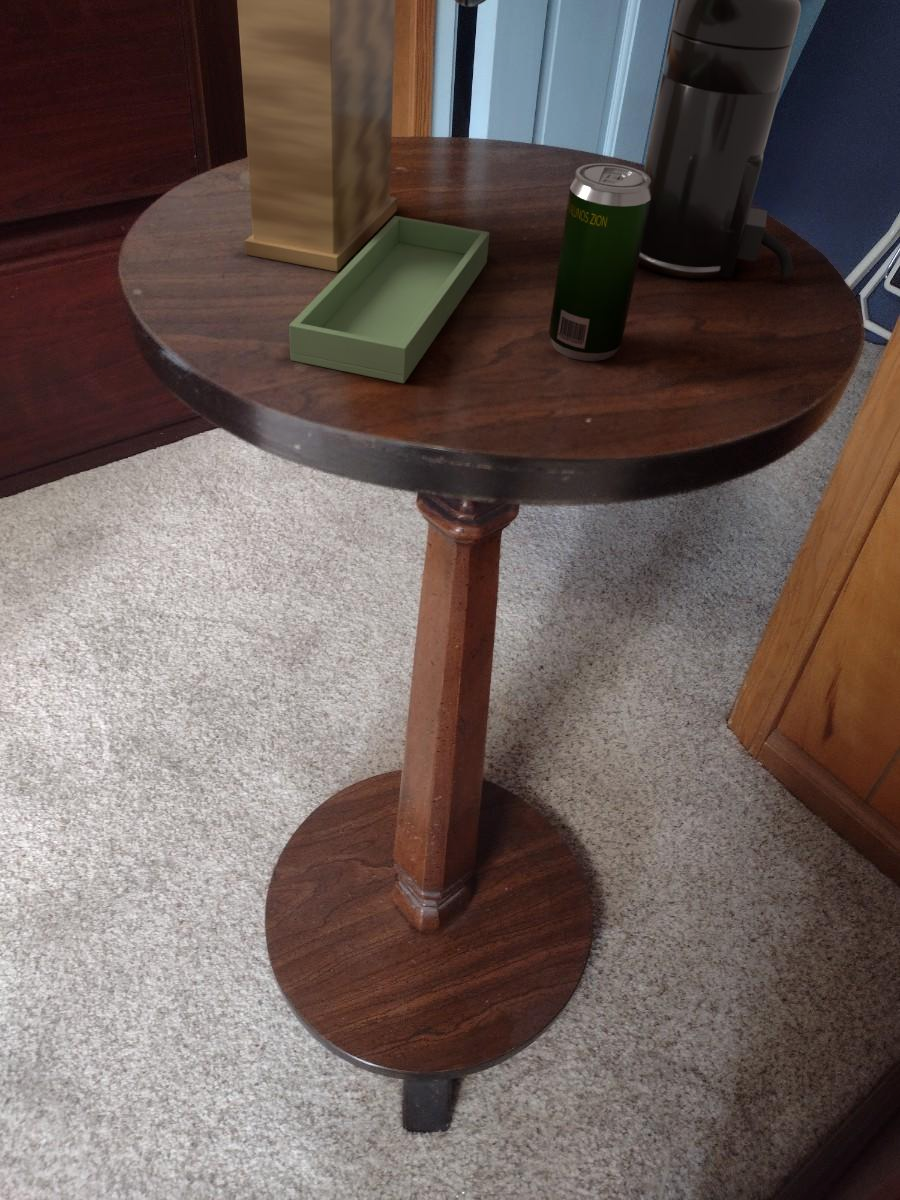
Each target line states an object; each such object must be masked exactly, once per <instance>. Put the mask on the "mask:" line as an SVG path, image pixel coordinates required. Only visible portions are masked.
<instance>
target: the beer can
mask: <svg viewBox="0 0 900 1200" xmlns="http://www.w3.org/2000/svg"><path fill="white" fill-rule="evenodd" d="M574 176H575V178H574V180H573V181H572V183H571V184H570V187H569V192H568V198H567V205H566V211H565V212H566V213H565V219H564V225H563V231H562V239H561V246H560V253H559V260H558V265H557V266H558V267H557V272H556V273H557V274H556V280H555V286H554V287H555V288H554V294H553V300H552V301H553V302H552V306H551V307H552V308H551V315H550V321H549V328H548V334H549V337H550V341H551V344H552V347H553V349H555V351H556V352H558V353H559V354H561V355H563V356H564V357H567V358H571V359H573V360H577V361H583V362H598V361H604V360H608V359H610V358H612V357H613V356H614V355H615V354H616V353H617V352H618V350H619V349H620V348H621V346H622V343H623V340H624V334H625V329H626V324H627V319H628V314H629V310H630V309H629V308H630V305H631V304H630V303H631V299H632V295H633V290H634V285H635V280H636V274H637V270H638V265H639V263H638V260H639V255H640V250H641V245H642V240H643V235H644V230H645V225H646V220H647V215H648V210H649V205H650V200H651V192H650V188H649V186H650V183H651V179H650V177H649V176H648V175H647V174H645V173H644V172H643V170H639V169H637V168H634V167H630V166H627V165H622V164H616V163H602V162H601V163H599V162H598V163H590V164H584V165H581V166H579V167H577V168H576V170H575V175H574Z"/></svg>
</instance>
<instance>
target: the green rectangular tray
mask: <svg viewBox="0 0 900 1200" xmlns="http://www.w3.org/2000/svg"><path fill="white" fill-rule="evenodd" d="M489 242H490V232H489V231H484V230H478V229H472V228H467V227H462V226H456V225H449V224H444V223H439V222H433V221H427V220H422V219H416V218H410V217H404V216H398V215H393V217H392V218H391V219H390V220H388V222H387V223H386V224H385V226H384V227H382V229H380V231H379V232H378V233H377V234H376V235H374V236H373V237H372V239H371V240H369V242H368V243H366V245H365V246H364V247H363V248H362V249H361V250H360V251H359V252H358V253H357V254H356V255H355V256H354V257H353V259H351V260H350V261H349V262H348V264H346V266H345V267H344V268H342V270H341V271H340V272H339V273H338V274H337V275H336V276H335V277H334V278H333V279H332V280H331V281H330V282H329V283H328V284H327V285H326V286H325V288H323V289H322V290H321V292H319V294H318V295H317V296H316V297H315V298H314V299H313V300H312V301H311V302H309V304H308V305H307V306H306V307H305V308H304V309H303V310H302V311H301V312H299V314H298V315H297V316H296V317H295V318H294V319H293V320H292V322H290V324H289V325H288V331H289V332H288V333H289V352H290V353H289V354H290V357H289V358H290V361H293V362H298V363H301V364H307V365H311V366H317V367H322V368H327V369H330V370H336V371H342V372H345V373H350V374H355V375H361V376H365V377H370V378H374V379H380V380H385V381H388V382H393V383H399V384H405V383H406V381H408V380H407V379H409V377H410V375H411V374H412V373H413V371H414V370H415V368H416V366H418V364H419V363H420V361H421V359H422V358H423V357H424V355H425V353H426V352H427V350H428V349H429V348H430V346H431V345H432V343H433V342H434V340H435V339H436V338H437V336H438V335H439V333H440V332H441V330H442V328H443V327H444V326H445V324H446V323H447V321H448V320H449V319H450V317H451V316H452V315H453V313H454V311H455V310H456V309H457V307H458V306H459V304H460V302H461V301H462V299H463V298H464V297H465V296H466V294H467V293H468V290H469V289H470V288H471V286H472V285H473V283H474V282H475V280H476V279H477V278H478V276H479V275H480V274H481V272H482V270H483V269H484V267H485V266H486V265H487V262H488V253H489Z"/></svg>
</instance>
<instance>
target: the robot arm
mask: <svg viewBox="0 0 900 1200" xmlns="http://www.w3.org/2000/svg"><path fill="white" fill-rule="evenodd" d="M454 1H455V2H456V3H457V4H459V5H460V6H462V7H465V8H472V7H473V8H474V7H476V6H479V5H481V4H483V3H485V2H486V1H487V0H454ZM801 13H802V6H801V2H800V0H675V3H674V8H673V13H672V20H671V24H670V26H671V28H670V29H669V35H668V40H667V45H666V49H665V55H664V61H663V66H662V72H661V76H660V80H659V86H658V91H657V96H656V101H655V106H654V107H655V108H654V112H653V118H652V123H651V127H650V128H651V129H650V133H649V138H648V144H647V148H646V154H645V159H644V164H643V165H644V166H643V170H642V172H644V173H645V174H647V175H648V176H649V177H650V179H651V183H650V186H649V188H650V192H651V200H650V205H649V210H648V215H647V220H646V225H645V230H644V235H643V240H642V245H641V250H640V255H639V260H638V265H640V266H642V267H644V268H646V269H649V270H651V271H654V272H657V273H660V274H663V275H667V276H673V277H678V278H684V279H685V278H686V279H713V278H720V279H721V278H722V279H727V280H731V279H732V278H733V274H734V271H735V267H736V263H737V260H744V261H750V262H757V259H758V255H759V253H760V250H761V245H763V246H764V247H765V248H767V249H769V250H770V251H771V252H773V253H774V254H775V255H776V256H777V258H778V259H779V263H780V277H781V278H785V277H789V276H792V275H793V257H792V254H791V252H790V251H789V249H788V248H787V247H786V245H785V244H784V243H783V242H781V241H780V240H779V239H777V238H776V237H774V236H773V235H771V234H770V233H769V232H767V231H766V226H767V218H768V210H765V209H760V208H753V207H752V203H753V200H754V197H755V193H756V188H757V185H758V181H759V177H760V173H761V169H762V166H763V160H764V155H765V154H764V153H765V149H766V147H767V142H768V138H769V134H770V131H771V127H772V123H773V119H774V115H775V113H776V108H777V105H778V101H779V97H780V94H781V90H782V87H783V82H784V78H785V74H786V71H787V66H788V63H789V59H790V56H791V52H792V48H793V43H794V41H795V38H796V34H797V31H798V26H799V23H800V18H801Z"/></svg>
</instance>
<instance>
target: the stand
mask: <svg viewBox="0 0 900 1200" xmlns="http://www.w3.org/2000/svg"><path fill="white" fill-rule="evenodd" d="M236 2H237V3H236V5H237V19H238V31H239V46H240V47H239V48H240V63H241V64H240V65H241V76H242V78H241V80H242V93H243V106H244V107H243V109H244V123H245V136H246V137H245V138H246V150H247V167H248V181H249V184H248V185H249V196H250V197H249V198H250V212H251V227H252V228H251V229H252V234H251V235H250V236H249V237H247V238H246V239H244V248H245V255H246V256H251V257H256V258H262V259H266V260H272V261H278V262H283V263H288V264H294V265H299V266H304V267H310V268H315V269H321V270H324V271H325V270H326V271H331V272H336V273H338V272H339V271H340V270H341V269H342V268H343V267H344V266H345V265H346V264H347V263H348V262H349V261H350V259H351V258H353V256H354V255H355V254H357V252H358V251H359V250H360V249H361V248H362V247H363V246H364V245H365V244H367V242H368V241H370V239H371V238H373V237H374V236H375V234H376V233H377V232H378V231H379V230H381V229H380V228H382V227H383V226H384V224H385V223H387V221H389V219H390V218H391V217H392V216H394V215H395V213H397V211H398V210H397V209H398V208H397V207H398V198H397V197H393V196H391V177H392V176H391V171H392V138H393V137H392V136H393V133H392V132H393V128H392V127H393V101H394V97H393V94H394V65H395V62H394V60H395V27H396V26H395V25H396V24H395V23H396V0H236Z"/></svg>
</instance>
